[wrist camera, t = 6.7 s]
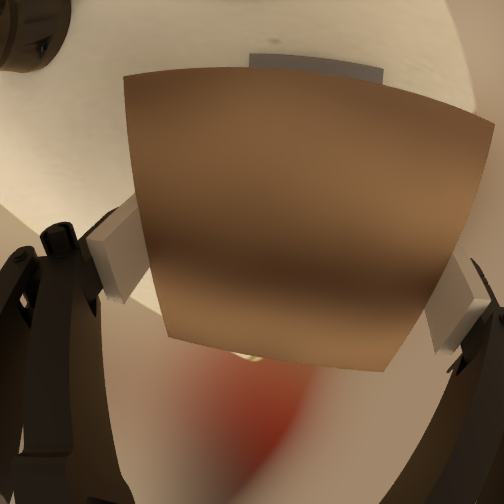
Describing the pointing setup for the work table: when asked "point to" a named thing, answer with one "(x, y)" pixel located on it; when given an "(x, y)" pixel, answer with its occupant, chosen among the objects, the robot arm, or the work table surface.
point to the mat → (317, 66)
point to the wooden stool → (298, 207)
